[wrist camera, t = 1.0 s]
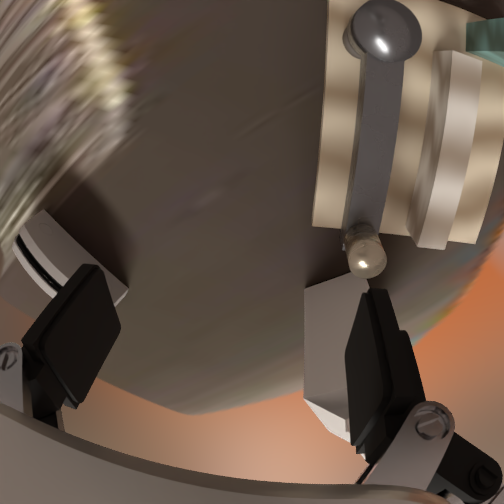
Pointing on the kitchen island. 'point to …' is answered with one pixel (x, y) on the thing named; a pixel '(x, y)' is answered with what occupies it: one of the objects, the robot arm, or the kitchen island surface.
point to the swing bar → (375, 125)
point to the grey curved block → (55, 256)
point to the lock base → (421, 125)
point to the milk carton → (330, 348)
